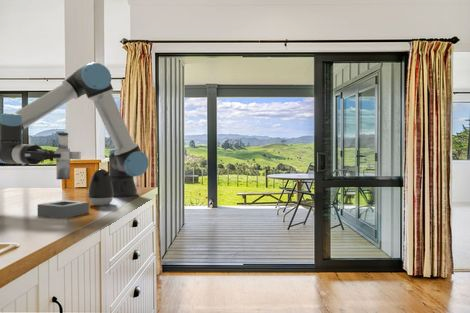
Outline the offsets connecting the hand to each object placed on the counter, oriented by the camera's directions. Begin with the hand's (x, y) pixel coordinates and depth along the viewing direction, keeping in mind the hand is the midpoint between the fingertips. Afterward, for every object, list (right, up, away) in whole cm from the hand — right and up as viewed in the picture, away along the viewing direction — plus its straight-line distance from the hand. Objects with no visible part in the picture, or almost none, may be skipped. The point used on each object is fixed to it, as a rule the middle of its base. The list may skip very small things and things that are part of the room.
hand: (74, 155), depth 133 cm
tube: (-5, -8, +2) cm, 10 cm away
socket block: (-5, -21, +3) cm, 22 cm away
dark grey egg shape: (+1, -21, +24) cm, 32 cm away
